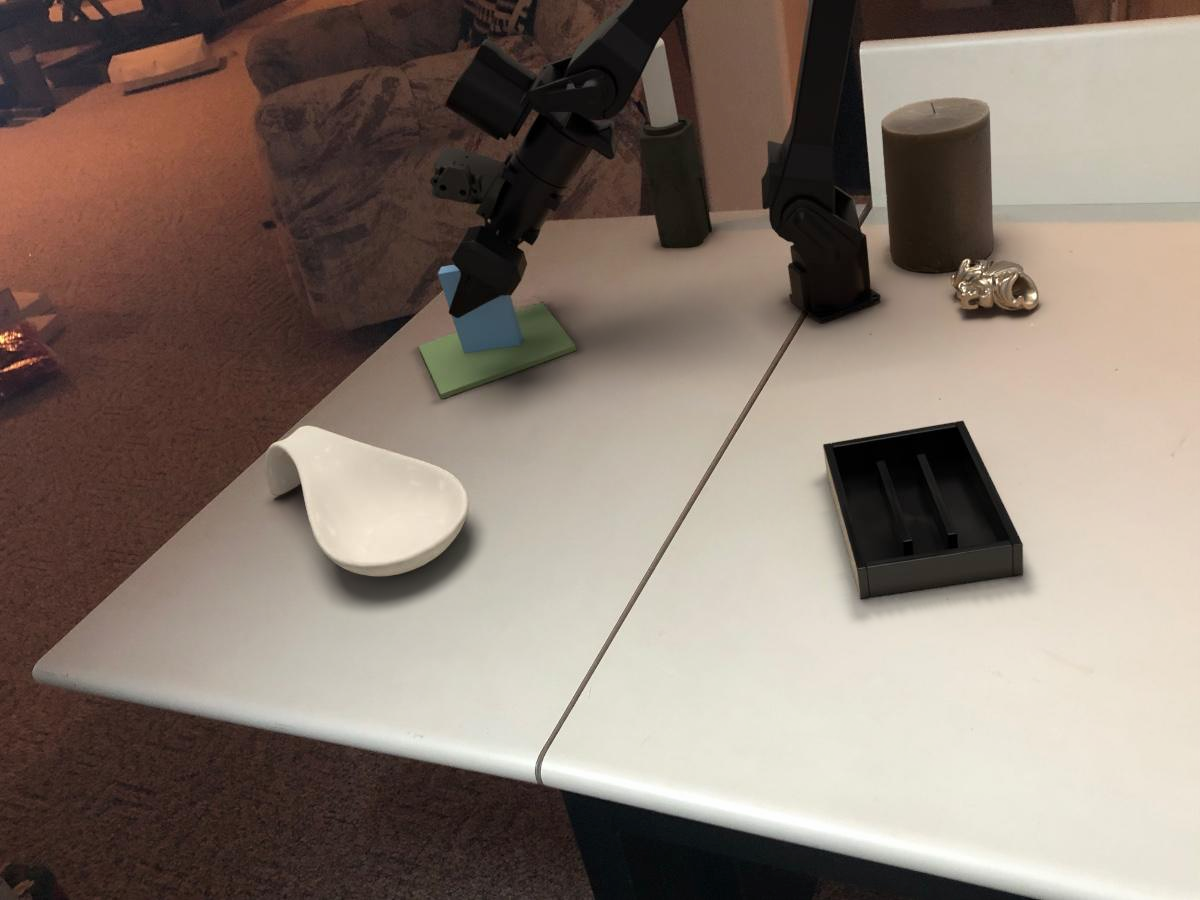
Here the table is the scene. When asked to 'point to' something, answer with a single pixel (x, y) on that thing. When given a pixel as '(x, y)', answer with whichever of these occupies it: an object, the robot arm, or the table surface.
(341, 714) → the table surface
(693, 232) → the candle
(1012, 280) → the ornament
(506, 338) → the blue rectangular block
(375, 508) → the spoon rest
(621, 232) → the table surface
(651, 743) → the table surface
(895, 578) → the dish rack
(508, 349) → the mat
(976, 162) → the pillar candle
